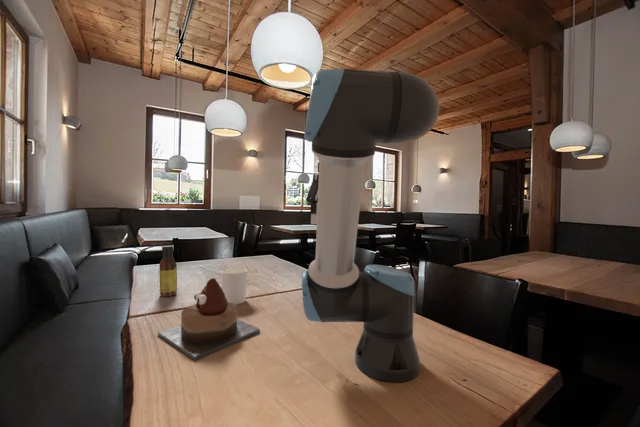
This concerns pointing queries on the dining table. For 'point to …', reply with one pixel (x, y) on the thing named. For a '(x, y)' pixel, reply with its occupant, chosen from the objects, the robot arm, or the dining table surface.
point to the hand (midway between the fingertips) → (327, 223)
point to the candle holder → (234, 284)
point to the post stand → (207, 331)
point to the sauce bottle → (168, 273)
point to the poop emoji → (211, 299)
